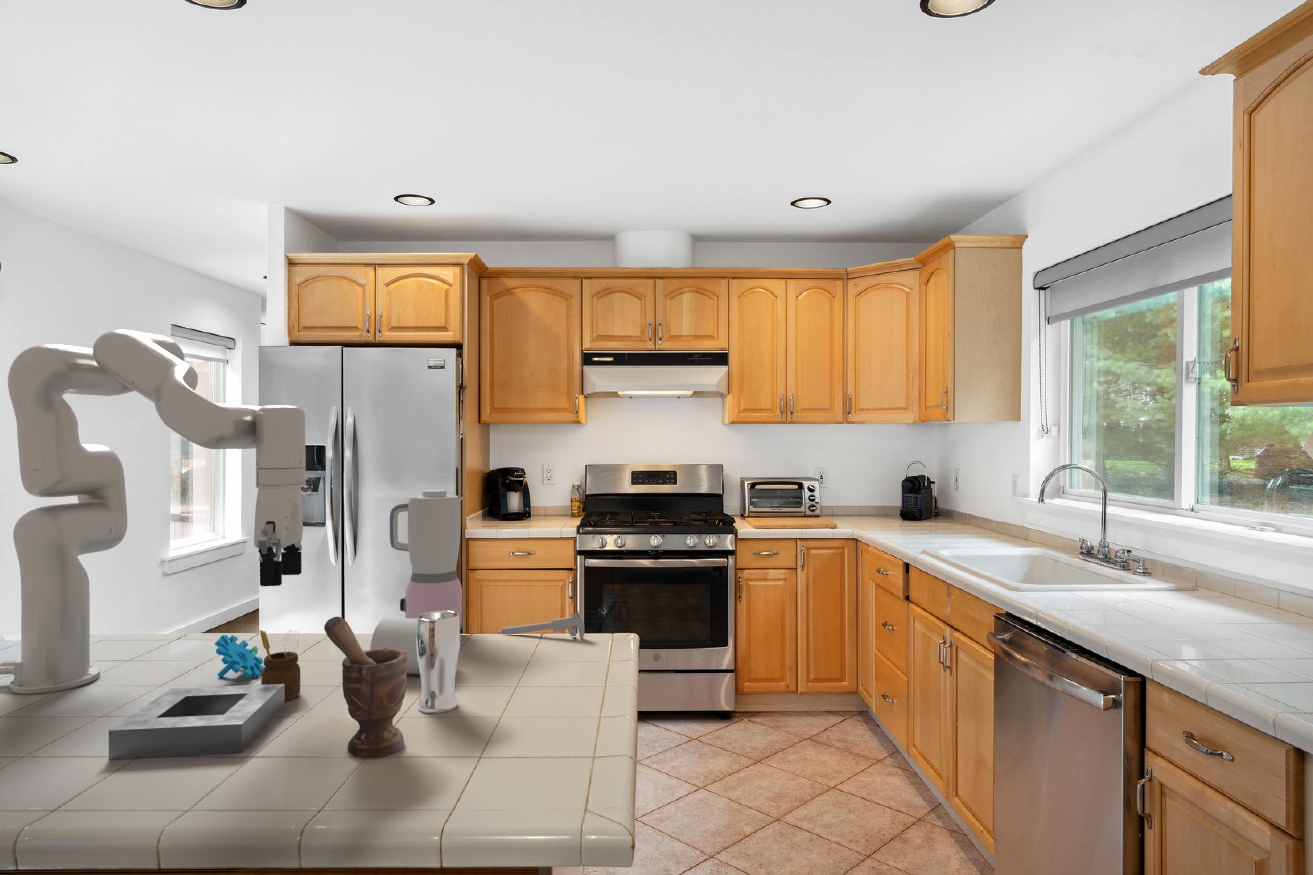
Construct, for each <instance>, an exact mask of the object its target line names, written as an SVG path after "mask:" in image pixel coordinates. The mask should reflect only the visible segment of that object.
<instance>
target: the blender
mask: <svg viewBox="0 0 1313 875" xmlns="http://www.w3.org/2000/svg"><path fill="white" fill-rule="evenodd" d="M463 499H464V497H461V496H458V495H454V494H447V490H446V489H425V490H424V489H423V490H422V492H421V495H413V496H409V498H408V503H401V504H396V505H395V506H393V508H392V509H391V511H390V512H389V514H390V515H389V541H390V546H391V548H393V549H394V550H397V551H402V552H408V553H409V560H410V563H411V576H410V579H409V581H408V583H407V586H405V591H404V593H405V596H404V598H401V599H400V601H399V602H400V603H399V610H400V612H404V613H405V618H412V619H417V616H418V615H420V614H422V613H426V612H431V611H454V612H457V613H459V624H460V630H462V629H463V622H464V621H463V588H462V584H461V581H460V579H459V577H458V574H457V564H458V558H459V551H460V545H461V501H462V500H463ZM404 512H407V542H400V541H399V531H398V530H399V529H398V528H399V514H400V513H404Z"/></svg>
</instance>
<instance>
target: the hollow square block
mask: <svg viewBox="0 0 1313 875" xmlns="http://www.w3.org/2000/svg"><path fill="white" fill-rule="evenodd" d="M285 704H286V701H285V684H267V685H261V684H249V685H244V684H243V685H223V686H221V685H220V686H200V687H178V688H175V687H174V688H170V689H168V690H167V691H165V692H163V694H161V695H159V696H158V697H156V698H155V699H153V700H152V701H150V702H149V703H147V704H145V705H144V706H143V707H141V708H140V709H138V710H137V711H135V712H134V713H133V714H131V715H130V716H128V717H127V718H125V719H124V720H122V721H121V722H119V723H118V724H116V725H114V726H113V727H112V728H110V729H109V730H108V760H109V761H110V760H112V761H113V760H126V759H127V760H129V759H147V758H166V757H183V756H184V757H185V756H204V755H205V756H206V755H207V756H208V755H221V754H222V755H223V754H237V753H238V754H242V753H243V752H244V751H245V750H246V749H247V748H248V747H249V746H250V745H251V744H252V743H253V742H254V740H255V741H256V739H257V738H258V737H259V736H260V734H262V732H263V731H265V729H267V727H268V726H269V725H270V724H271V723H272V722H273V721H274V720H275V719H276V718H277V717H278V716H279V715H280V714H281V712H283V711H284V710H285Z"/></svg>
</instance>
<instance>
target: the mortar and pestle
mask: <svg viewBox="0 0 1313 875" xmlns="http://www.w3.org/2000/svg"><path fill="white" fill-rule="evenodd" d="M323 625H324V626H323V627H324V631H325V633H326V634H325V635H326V636H327V638H329V640H330V641H331V642H332V643H333V644H334V646H336V647H337V648H338V649H339V650H340V651H341V652H342V653H343V655H344V656H345V657H344V659H342V662H341V666H342V672H341V673H342V674H341V675H342V693H343V698H344V700H345V702H346V703H345V704H346V705H347V712H348V714H349V716H350V717H351V718H352V719H353V721H354V720H355V722H357V724H358V727H359V728H358V730H357V731H356V733H355V734H354V735H353V736H352V737H351V739H350V740H349V741H348V744H347V751H348V753H349V754H350V755H351V756H352V757H355V758H359V759H375V758H380V757H383V756H387V755H390V754H393V753H395V752H397V751H399V750H401V748H402V747H403V746H404V743H405V741H404V737H403V736H404V735H403V732H402V730H400V729H399V728H398V727H396V726H394V724H393V720H394V719H395V717H396V716H397V715H398V713H399V712H400V711H401V708H402V706H403V701H404V699H405V696H406V693H407V685H408V684H407V683H408V676H407V675H408V674H407V673H406V671H407V654H408V653H407V652H406V651H404V650H400V649H394V648H393V649H388V648H383V649H372V650H370V649H367V650H366V649H365V650H363V648H362V647H361V645H360V644H359V642H358V640H357V638H356V635H355V633H354V631H353V630H352V628H351V626H350V625H349V623H348V621H347V620H345V619H344V618H343V617H340V616H333V617H330V618H329V619H328V620H327V621H326V622H325V624H323Z"/></svg>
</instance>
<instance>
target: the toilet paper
mask: <svg viewBox="0 0 1313 875" xmlns="http://www.w3.org/2000/svg"><path fill="white" fill-rule="evenodd" d="M416 630H417V619H412V618H406V617H384V618H382V619H381V620H380V621H379V622H378V623H377V625H376V626H375V628H374V631H373V633H372V636H371V641H370V648H369V650H372V649H383V648H388V649H393V648H394V649H400V650H404V651H406V652H407V653H408V654H407V671H406V673H407V675H417V676H418V675H419V676H420V672H419V667H418V661H417V653H416Z"/></svg>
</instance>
